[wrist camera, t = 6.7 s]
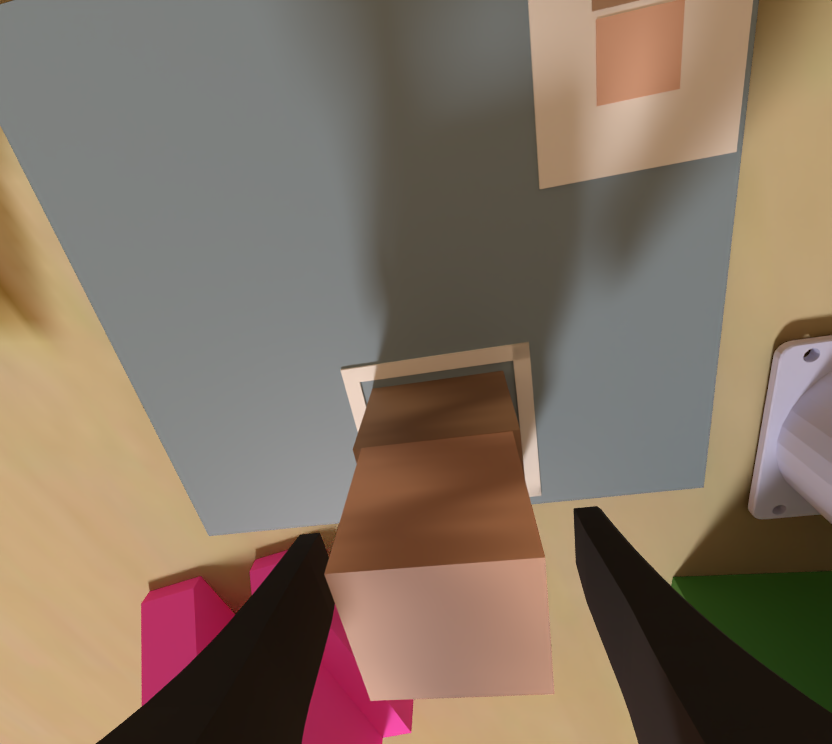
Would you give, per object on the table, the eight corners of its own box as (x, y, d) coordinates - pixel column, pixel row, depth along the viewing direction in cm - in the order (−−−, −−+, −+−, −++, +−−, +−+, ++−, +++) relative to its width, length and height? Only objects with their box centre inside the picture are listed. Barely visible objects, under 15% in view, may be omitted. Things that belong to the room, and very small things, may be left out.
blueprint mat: (768, -206, 10) (789, -230, 9) (697, 479, 18) (705, 490, 18) (-36, 24, 13) (-60, 17, 12) (213, 528, 21) (207, 538, 21)
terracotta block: (512, 430, 13) (544, 557, 8) (523, 545, 14) (554, 693, 10) (361, 447, 13) (324, 574, 9) (390, 555, 15) (370, 700, 11)
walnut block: (502, 370, 16) (520, 429, 13) (514, 477, 18) (532, 554, 15) (372, 388, 17) (352, 449, 13) (397, 490, 19) (386, 567, 15)
